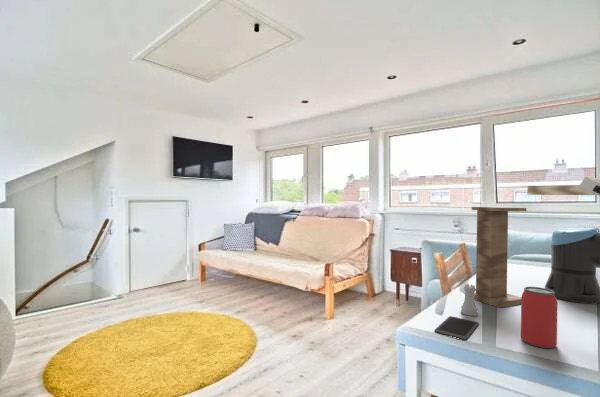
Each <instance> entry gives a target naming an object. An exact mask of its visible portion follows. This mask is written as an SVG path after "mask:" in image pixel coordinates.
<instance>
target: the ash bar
mask: <svg viewBox="0 0 600 397" xmlns="http://www.w3.org/2000/svg"><path fill="white" fill-rule="evenodd" d="M579 185H580V184H579ZM579 185H577V184H576V185H573V184H572V185H568V184H567V185H527V190H526V191H527V192H526V193H527V195H528V196H529V195H530V196H534V195H535V196H536V195H537V196H538V195H540V196H598V195H597V194H594V193H592V192H590V191H588V190H586V189H584V188H582V187H579Z"/></svg>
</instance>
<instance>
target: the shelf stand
mask: <svg viewBox="0 0 600 397" xmlns="http://www.w3.org/2000/svg"><path fill="white" fill-rule="evenodd" d="M471 211H476V257H475V258H476V260H475V264H476V266H475V268H476V269H475V271H476V272H475V275H476V276H475V288H476V291H475V292H474V294H475V296H474V299H475V301H477V302H481V303H484V304H488V305H490V306H494V307H497V308H499V309H500V308H505V306H506V307H512V306H517V305H521V297H522V296H518V295H513V294H510V293H507V292H508V288H507V287H508V247H509V246H508V243H509V242H508V241H509V240H508V238H509V237H508V236H509V235H508V234H509V233H508V232H509V212H527V207H507V206H506V207H505V206H471ZM516 304H517V305H516ZM511 305H512V306H511Z"/></svg>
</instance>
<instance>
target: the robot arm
mask: <svg viewBox="0 0 600 397" xmlns="http://www.w3.org/2000/svg"><path fill="white" fill-rule="evenodd" d="M579 187H582V188H584V189H586V190H588V191H590V192H592V193H594V194H597V195H596V196H598V197H600V178H599V177H595V178H594V179H593V178H591V177H589V176H584V178H583V179H582V181H581V182H580V184H579ZM550 245H551V256H550V257H551V258H550V259H551V262H550V263H551V270H550V273H549V276H548V278H547V280H546V283H545V285H544V288H545V289H549V290H552V291H554V292H555V294H554V295H555V297H556V299H557V300H558V299H559V300H563V301H568V302H573V303H574V302H575V303H582V304H592V303H596V304H600V284H599V282H598V279H597V269H600V232H599V231H598V230H597V229H596V228H594V227H571V228H560V229H559V228H558V229H556V230H554V231H553V232H552V234H551V241H550Z"/></svg>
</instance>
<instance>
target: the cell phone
mask: <svg viewBox="0 0 600 397" xmlns="http://www.w3.org/2000/svg"><path fill="white" fill-rule="evenodd" d="M479 326H480V322H478V321H474V320H471V319H465V318H462V317H458V316H452V315H451V316H450V315H449V316H448V317H447V318H445V320H444V321H442V323H440V324H439V325H438V326H437V327H436V328H435V329H434V333H436V334H439V335H441V336H442V335H443V336H445V335H446V337H449V336H452V337H451V338H453V337H456V338H455V339H457V338H459V339H458V340H460V339H462V340H461V341H465V340H466V341H467V340H469V338H471V336H472V335H473V333H475V331H476V330H477V328H478V327H479Z"/></svg>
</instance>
